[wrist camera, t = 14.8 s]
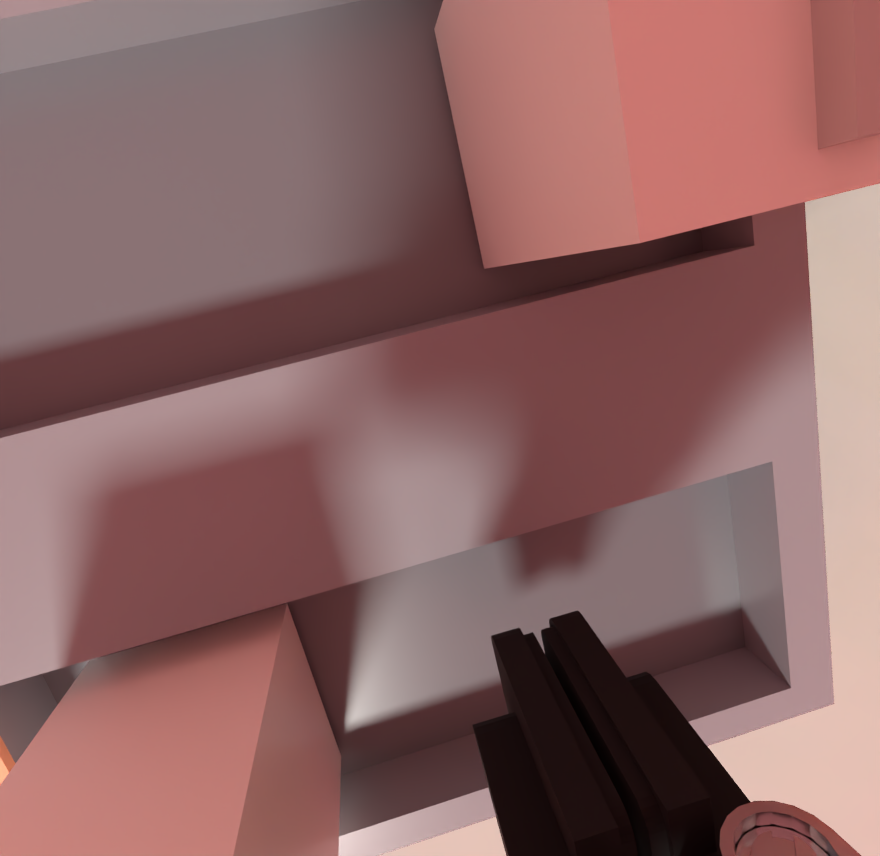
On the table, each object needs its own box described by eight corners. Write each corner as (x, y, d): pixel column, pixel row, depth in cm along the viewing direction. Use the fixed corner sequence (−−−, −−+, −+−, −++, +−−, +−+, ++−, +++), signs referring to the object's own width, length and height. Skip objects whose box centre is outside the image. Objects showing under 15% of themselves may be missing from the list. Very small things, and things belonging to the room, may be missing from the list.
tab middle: (434, 29, 10) (580, -445, 3) (654, -18, 10) (1152, -527, 4) (484, 269, 11) (665, 239, 4) (682, 219, 11) (1106, 128, 5)
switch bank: (-617, -623, 8) (-1440, -1398, 4) (611, -741, 9) (772, -1379, 6) (110, 812, 15) (32, 981, 11) (749, 612, 16) (862, 703, 13)
